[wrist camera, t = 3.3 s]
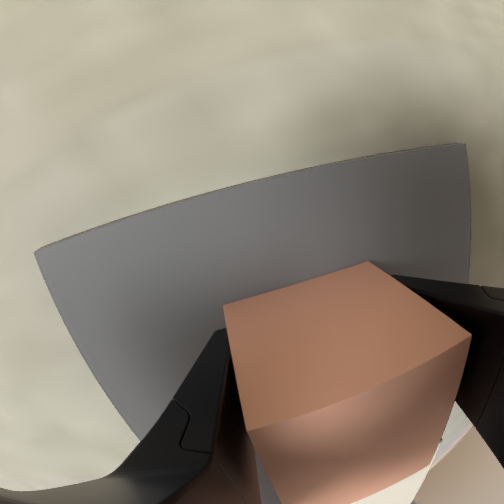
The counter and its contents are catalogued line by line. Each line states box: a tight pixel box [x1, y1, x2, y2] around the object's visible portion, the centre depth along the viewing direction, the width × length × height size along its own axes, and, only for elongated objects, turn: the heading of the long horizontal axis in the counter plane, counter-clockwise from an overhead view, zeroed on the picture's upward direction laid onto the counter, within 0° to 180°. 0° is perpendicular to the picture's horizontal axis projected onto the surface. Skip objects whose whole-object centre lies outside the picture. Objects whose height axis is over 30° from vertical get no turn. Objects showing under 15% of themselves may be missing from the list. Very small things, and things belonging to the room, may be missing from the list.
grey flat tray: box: [34, 143, 471, 504], centre depth 10 cm, size 23×16×6 cm
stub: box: [223, 261, 472, 504], centre depth 8 cm, size 6×5×5 cm
